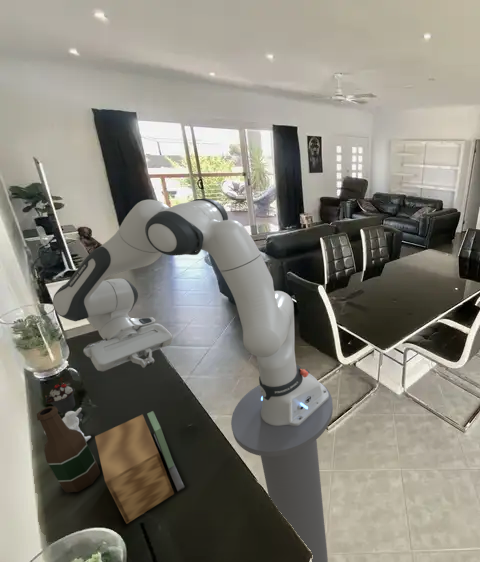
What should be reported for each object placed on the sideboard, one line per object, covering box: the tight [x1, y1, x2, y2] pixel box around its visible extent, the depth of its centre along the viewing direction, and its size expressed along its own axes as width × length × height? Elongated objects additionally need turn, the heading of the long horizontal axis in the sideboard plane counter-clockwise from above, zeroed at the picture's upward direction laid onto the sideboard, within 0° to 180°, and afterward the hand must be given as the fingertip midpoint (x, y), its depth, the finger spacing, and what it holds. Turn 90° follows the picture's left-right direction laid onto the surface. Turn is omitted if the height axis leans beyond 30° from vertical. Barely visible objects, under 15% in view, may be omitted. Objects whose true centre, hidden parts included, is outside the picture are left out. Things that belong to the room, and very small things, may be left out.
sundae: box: [44, 377, 84, 421], centre depth 100 cm, size 7×7×15 cm
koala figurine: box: [43, 407, 92, 443], centre depth 91 cm, size 8×7×12 cm
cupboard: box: [94, 414, 185, 525], centre depth 83 cm, size 12×24×15 cm, turn 45°
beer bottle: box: [36, 405, 101, 493], centre depth 80 cm, size 8×8×24 cm
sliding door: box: [146, 410, 175, 469], centre depth 87 cm, size 2×8×14 cm, turn 45°
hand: (149, 364), depth 94 cm, fingers closed
